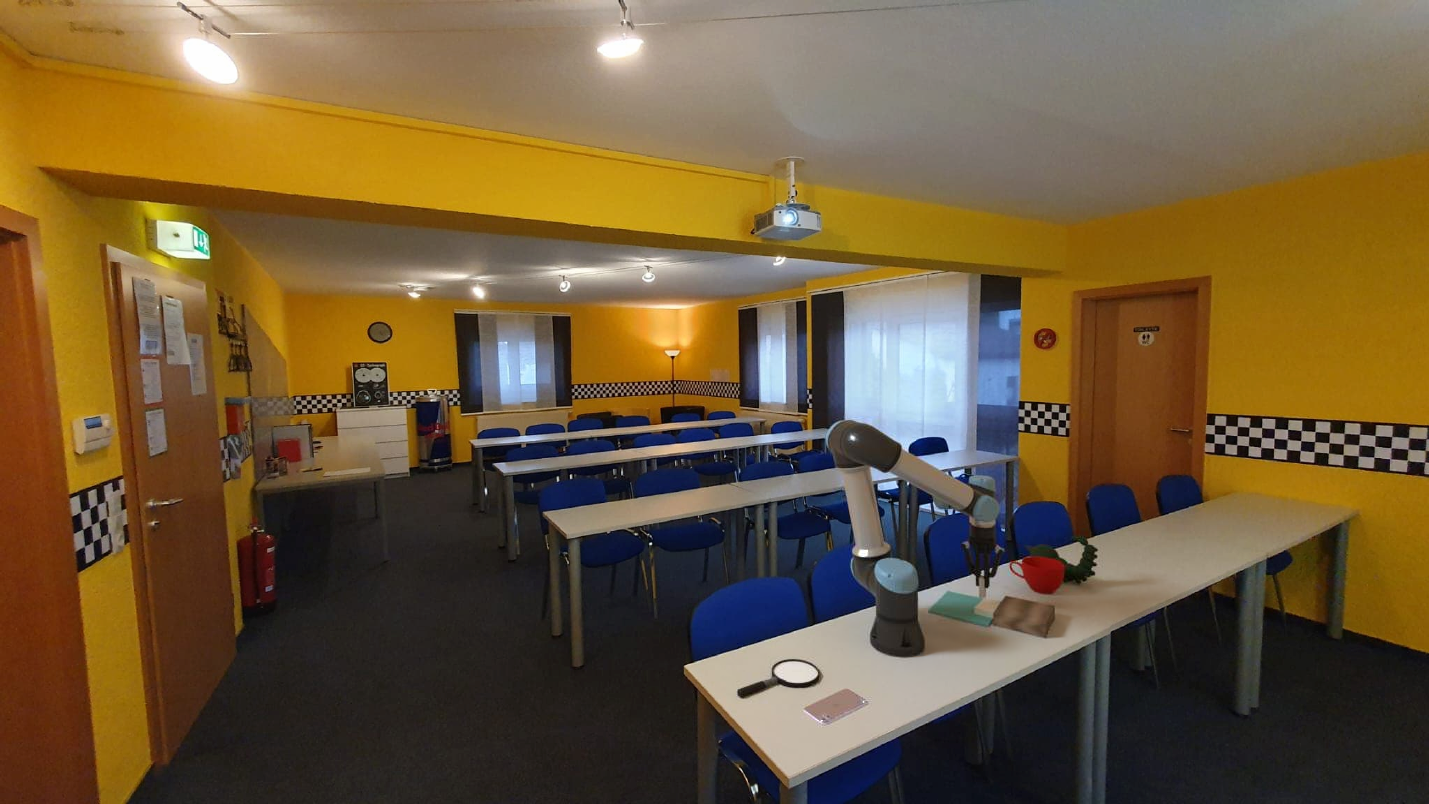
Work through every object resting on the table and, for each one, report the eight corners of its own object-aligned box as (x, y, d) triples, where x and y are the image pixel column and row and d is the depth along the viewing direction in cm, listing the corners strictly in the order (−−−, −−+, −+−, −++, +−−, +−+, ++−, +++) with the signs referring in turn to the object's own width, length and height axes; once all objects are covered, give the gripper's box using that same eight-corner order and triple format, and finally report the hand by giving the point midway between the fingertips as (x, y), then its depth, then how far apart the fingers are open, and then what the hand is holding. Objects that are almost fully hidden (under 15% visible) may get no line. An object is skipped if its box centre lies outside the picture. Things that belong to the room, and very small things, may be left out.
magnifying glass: (725, 686, 147) (725, 678, 146) (798, 661, 159) (798, 653, 159) (753, 710, 136) (753, 702, 136) (829, 681, 148) (829, 673, 148)
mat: (928, 612, 185) (928, 610, 185) (947, 592, 200) (947, 590, 200) (987, 627, 173) (987, 625, 173) (1003, 604, 189) (1003, 603, 189)
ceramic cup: (1012, 579, 211) (1012, 552, 210) (1065, 588, 201) (1066, 560, 200) (1006, 590, 200) (1006, 562, 200) (1062, 601, 190) (1063, 571, 190)
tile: (974, 613, 182) (974, 607, 182) (983, 604, 188) (983, 598, 188) (994, 618, 178) (994, 612, 177) (1003, 609, 184) (1003, 603, 184)
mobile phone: (869, 700, 137) (823, 723, 129) (869, 704, 137) (823, 728, 129) (846, 686, 143) (801, 707, 135) (846, 690, 143) (801, 711, 135)
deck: (993, 625, 174) (993, 612, 174) (1005, 607, 187) (1005, 595, 186) (1045, 638, 166) (1045, 624, 165) (1054, 618, 178) (1054, 605, 178)
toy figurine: (1098, 589, 203) (1030, 563, 224) (1104, 538, 200) (1034, 517, 222) (1083, 595, 198) (1015, 568, 220) (1089, 543, 195) (1019, 521, 217)
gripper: (957, 524, 183) (957, 595, 185) (1001, 530, 175) (1001, 605, 176) (964, 518, 189) (964, 588, 190) (1007, 524, 181) (1007, 597, 182)
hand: (982, 596), depth 183 cm, fingers closed
